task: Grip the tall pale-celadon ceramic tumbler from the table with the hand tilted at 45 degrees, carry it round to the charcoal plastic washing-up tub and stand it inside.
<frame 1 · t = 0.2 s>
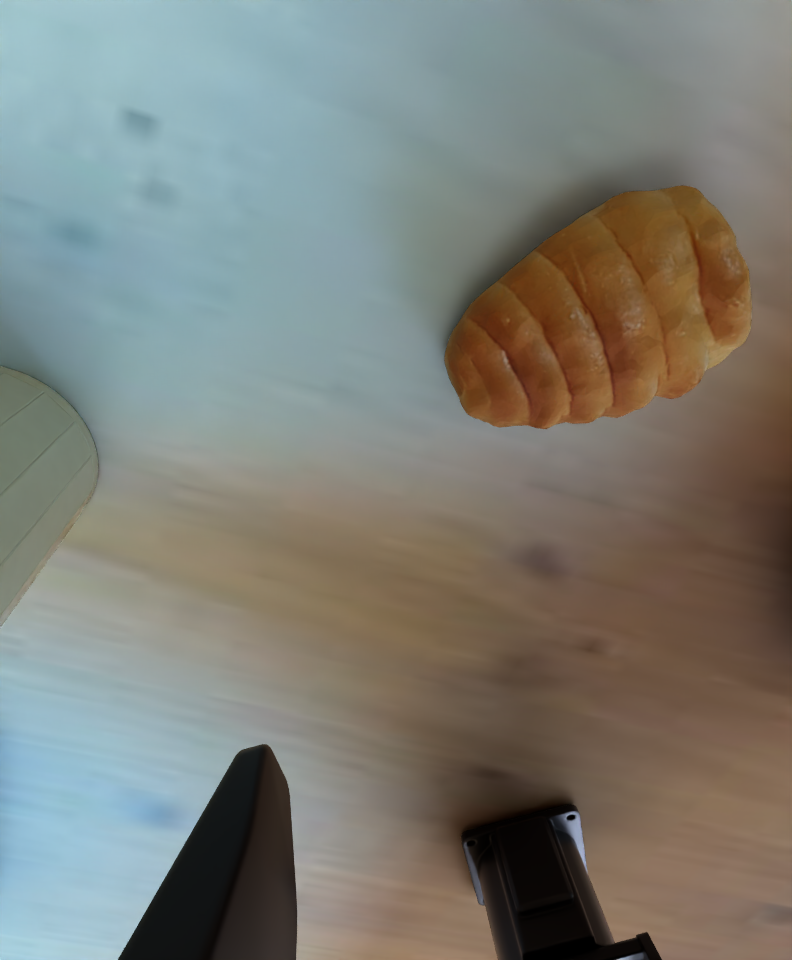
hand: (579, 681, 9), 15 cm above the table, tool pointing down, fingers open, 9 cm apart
pastry: (587, 316, 22), on the table
tumbler: (0, 454, 21), on the table
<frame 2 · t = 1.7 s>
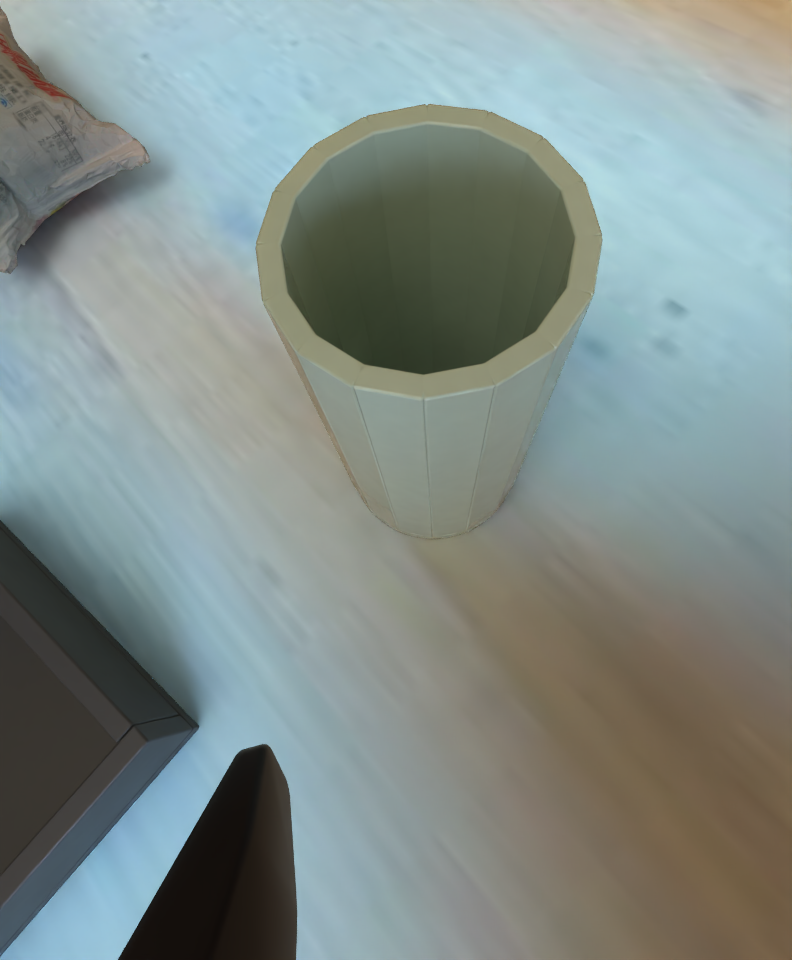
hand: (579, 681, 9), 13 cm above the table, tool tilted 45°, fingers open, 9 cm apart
tumbler: (433, 458, 24), on the table
packaged food: (33, 172, 30), on the table
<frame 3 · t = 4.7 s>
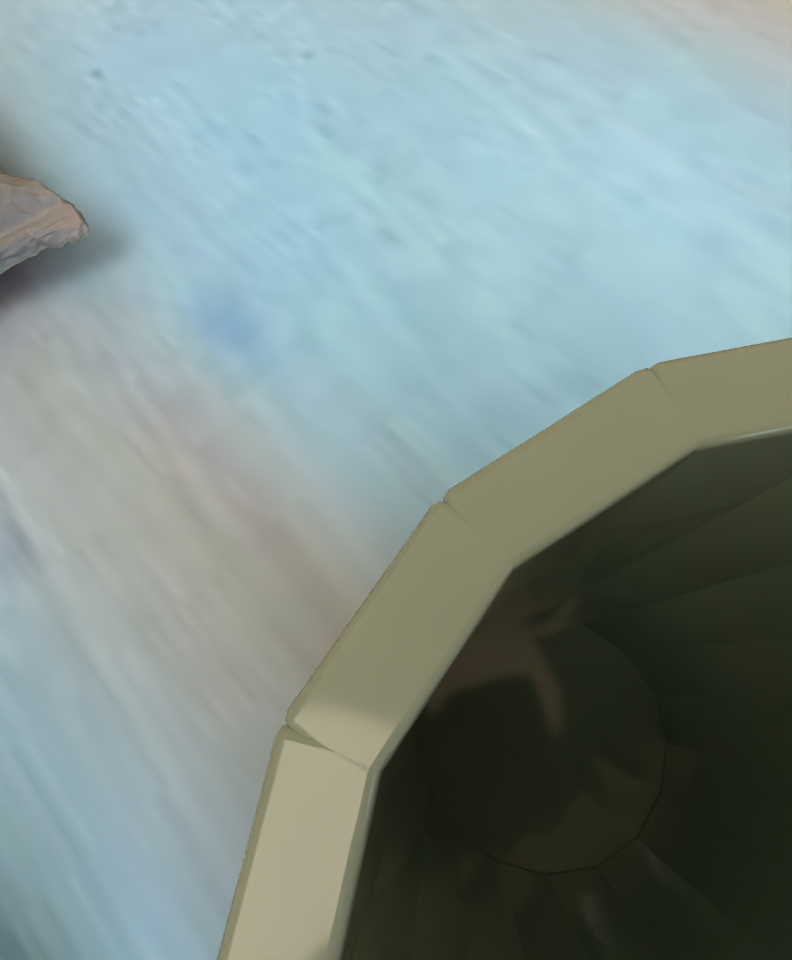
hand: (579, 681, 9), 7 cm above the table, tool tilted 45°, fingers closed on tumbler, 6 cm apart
tumbler: (537, 734, 15), on the table, touching gripper
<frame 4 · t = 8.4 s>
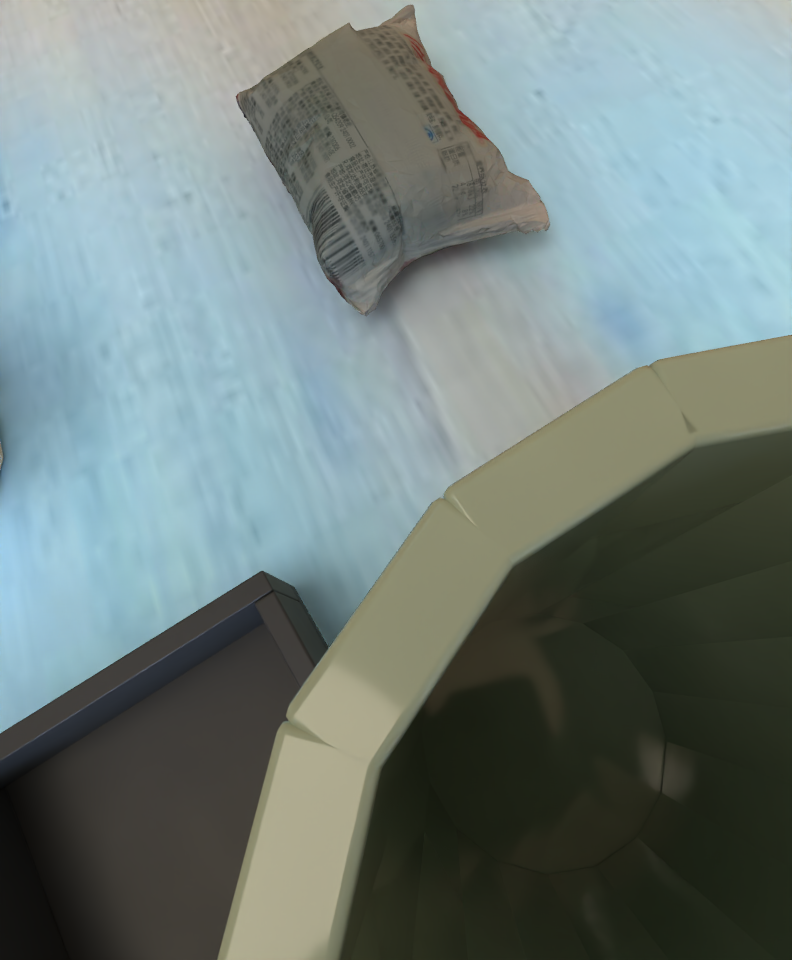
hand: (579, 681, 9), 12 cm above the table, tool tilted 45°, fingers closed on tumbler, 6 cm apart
tub: (223, 842, 20), on the table
tumbler: (537, 733, 15), point 6 cm above the table, touching gripper
packaged food: (392, 195, 27), on the table
when the fingers open (7 cm above the table, at t = 12.3 s): tumbler stays where it is, resting on tub.
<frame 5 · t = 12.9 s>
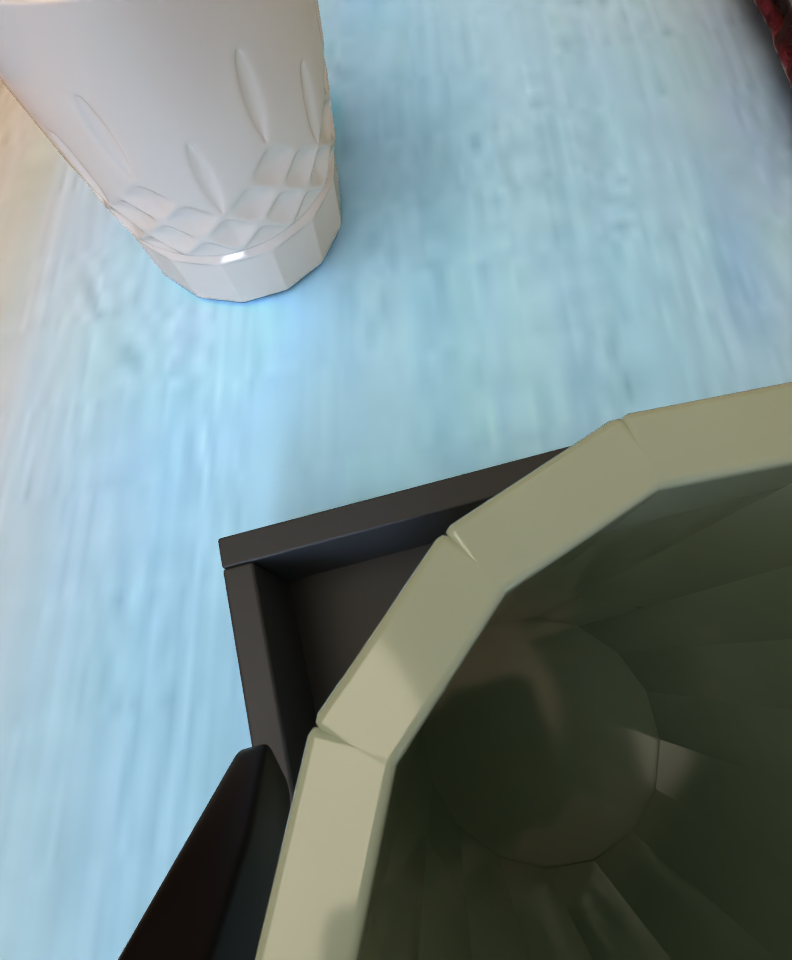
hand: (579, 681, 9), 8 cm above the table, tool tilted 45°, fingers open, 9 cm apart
tub: (532, 731, 16), on the table
tumbler: (536, 733, 15), point 1 cm above the table, touching tub
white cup: (248, 223, 21), on the table
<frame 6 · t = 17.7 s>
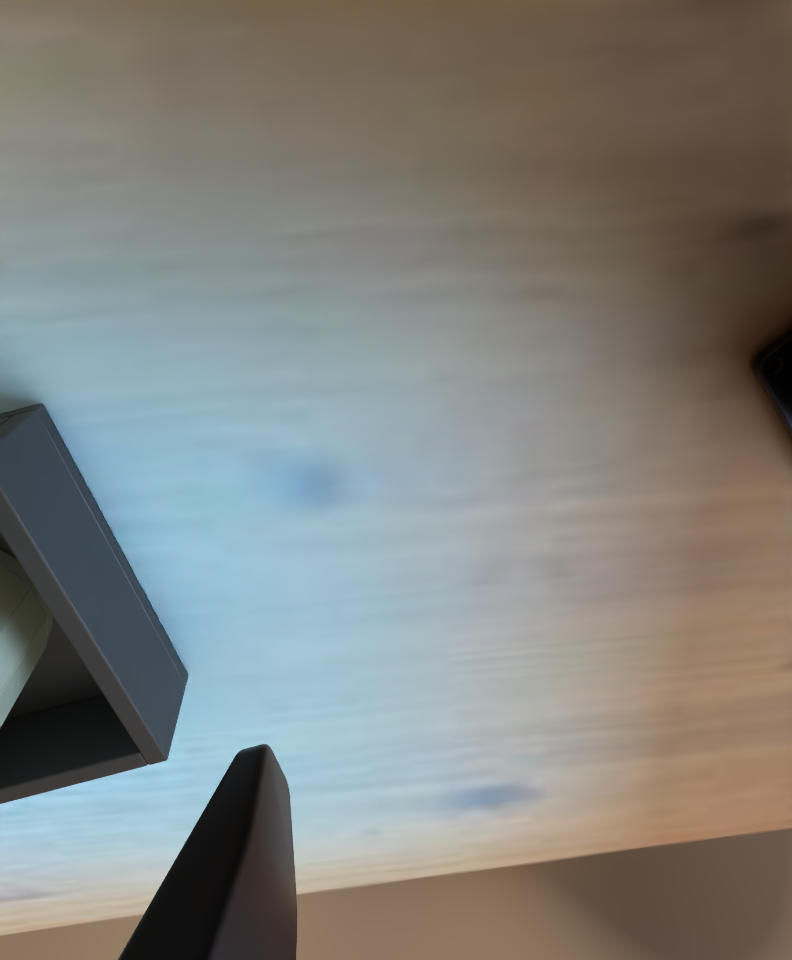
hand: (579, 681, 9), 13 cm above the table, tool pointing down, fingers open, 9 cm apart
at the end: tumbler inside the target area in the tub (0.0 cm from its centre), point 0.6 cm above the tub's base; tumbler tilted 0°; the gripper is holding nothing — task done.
